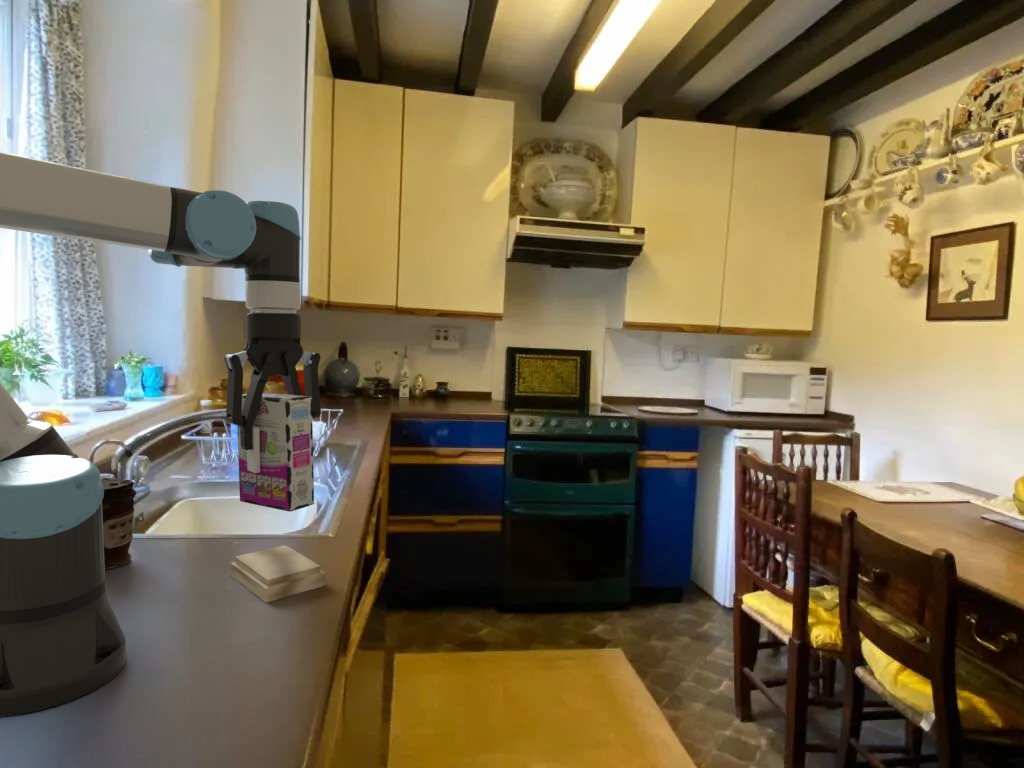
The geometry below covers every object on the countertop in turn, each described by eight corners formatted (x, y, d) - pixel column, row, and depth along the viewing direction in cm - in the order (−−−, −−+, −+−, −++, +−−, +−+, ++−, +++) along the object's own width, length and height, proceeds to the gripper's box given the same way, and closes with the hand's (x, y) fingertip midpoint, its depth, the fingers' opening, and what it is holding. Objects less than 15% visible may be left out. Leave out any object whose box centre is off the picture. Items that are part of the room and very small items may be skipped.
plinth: (265, 602, 90) (265, 581, 90) (230, 575, 99) (230, 556, 99) (325, 585, 96) (325, 566, 96) (286, 561, 106) (286, 543, 105)
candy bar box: (316, 504, 96) (314, 395, 95) (290, 513, 92) (287, 399, 90) (265, 493, 102) (261, 390, 100) (238, 501, 98) (234, 393, 96)
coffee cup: (152, 555, 107) (149, 478, 106) (116, 574, 99) (113, 491, 98) (103, 552, 108) (100, 476, 107) (63, 571, 100) (60, 489, 98)
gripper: (321, 313, 103) (323, 455, 106) (195, 310, 90) (200, 472, 92) (345, 313, 98) (346, 463, 100) (215, 310, 85) (219, 482, 87)
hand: (276, 467), depth 96 cm, fingers closed on candy bar box, 6 cm apart
